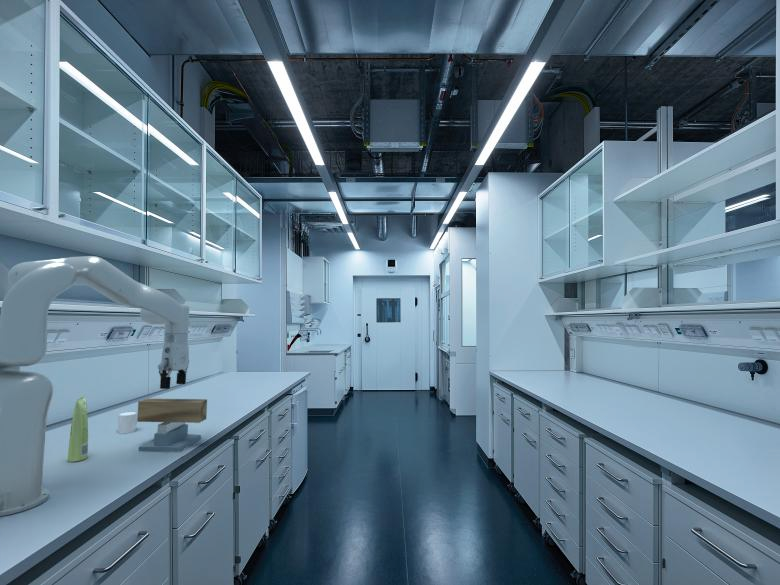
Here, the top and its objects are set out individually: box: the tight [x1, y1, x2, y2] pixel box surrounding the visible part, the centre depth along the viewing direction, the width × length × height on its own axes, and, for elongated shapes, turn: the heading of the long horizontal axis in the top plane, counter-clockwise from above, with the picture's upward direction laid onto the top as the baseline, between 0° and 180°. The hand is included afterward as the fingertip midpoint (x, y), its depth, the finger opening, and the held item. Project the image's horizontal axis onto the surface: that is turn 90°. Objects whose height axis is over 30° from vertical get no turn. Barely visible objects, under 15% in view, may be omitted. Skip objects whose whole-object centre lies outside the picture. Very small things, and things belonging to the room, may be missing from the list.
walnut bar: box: [137, 397, 208, 424], centre depth 137 cm, size 5×22×7 cm, turn 89°
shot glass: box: [116, 411, 138, 435], centre depth 151 cm, size 7×7×7 cm
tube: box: [67, 395, 89, 463], centre depth 122 cm, size 6×5×20 cm
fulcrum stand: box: [138, 422, 202, 453], centre depth 136 cm, size 14×14×8 cm
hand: (173, 386), depth 137 cm, fingers open, 9 cm apart
